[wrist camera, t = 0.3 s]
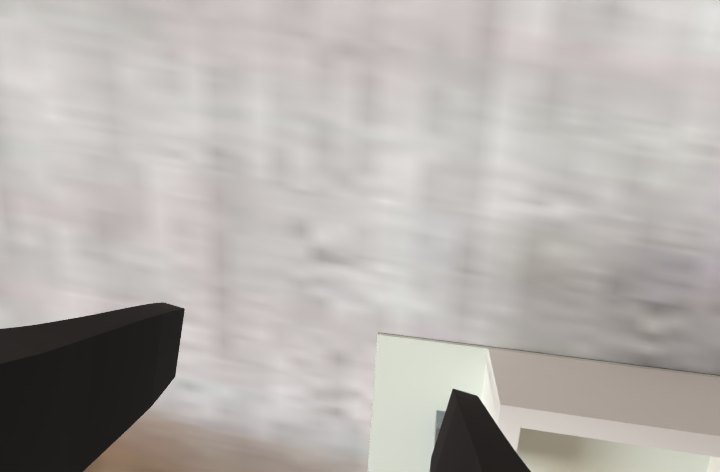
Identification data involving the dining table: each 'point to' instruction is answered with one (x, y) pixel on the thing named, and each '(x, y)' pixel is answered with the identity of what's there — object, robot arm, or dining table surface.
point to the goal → (603, 402)
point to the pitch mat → (466, 373)
